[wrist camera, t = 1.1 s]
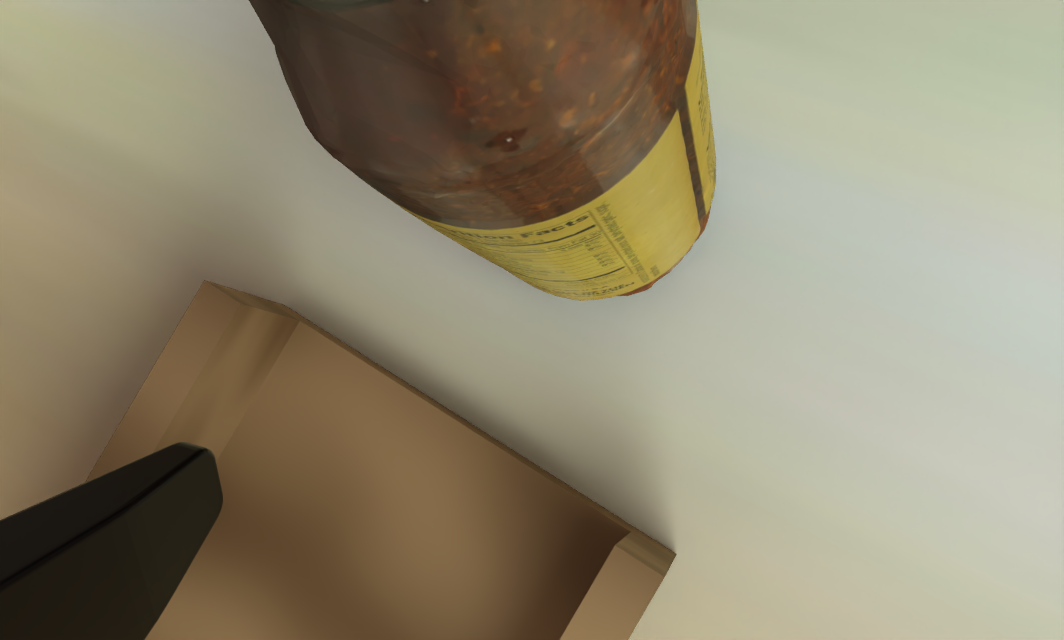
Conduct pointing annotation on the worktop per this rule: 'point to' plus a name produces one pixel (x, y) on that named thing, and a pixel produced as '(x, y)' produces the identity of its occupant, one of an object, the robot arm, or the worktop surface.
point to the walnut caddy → (366, 500)
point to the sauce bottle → (518, 125)
